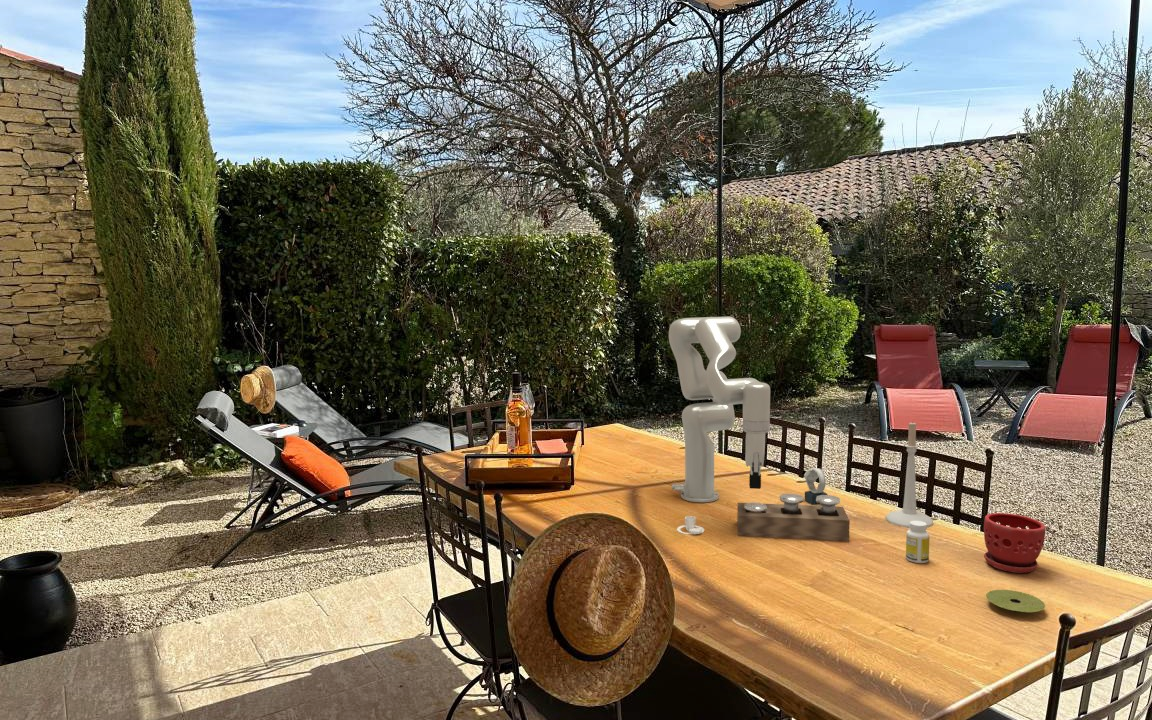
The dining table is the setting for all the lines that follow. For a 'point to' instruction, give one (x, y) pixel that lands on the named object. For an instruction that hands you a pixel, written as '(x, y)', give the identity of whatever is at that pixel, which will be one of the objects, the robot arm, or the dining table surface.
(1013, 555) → the plant pot
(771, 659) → the dining table surface
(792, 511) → the knob mid
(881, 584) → the dining table surface
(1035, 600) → the mat
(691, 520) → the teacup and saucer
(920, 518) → the candlestick
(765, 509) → the knob
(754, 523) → the knob bar
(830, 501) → the knob
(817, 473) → the watch
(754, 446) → the robot arm
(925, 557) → the supplement bottle
